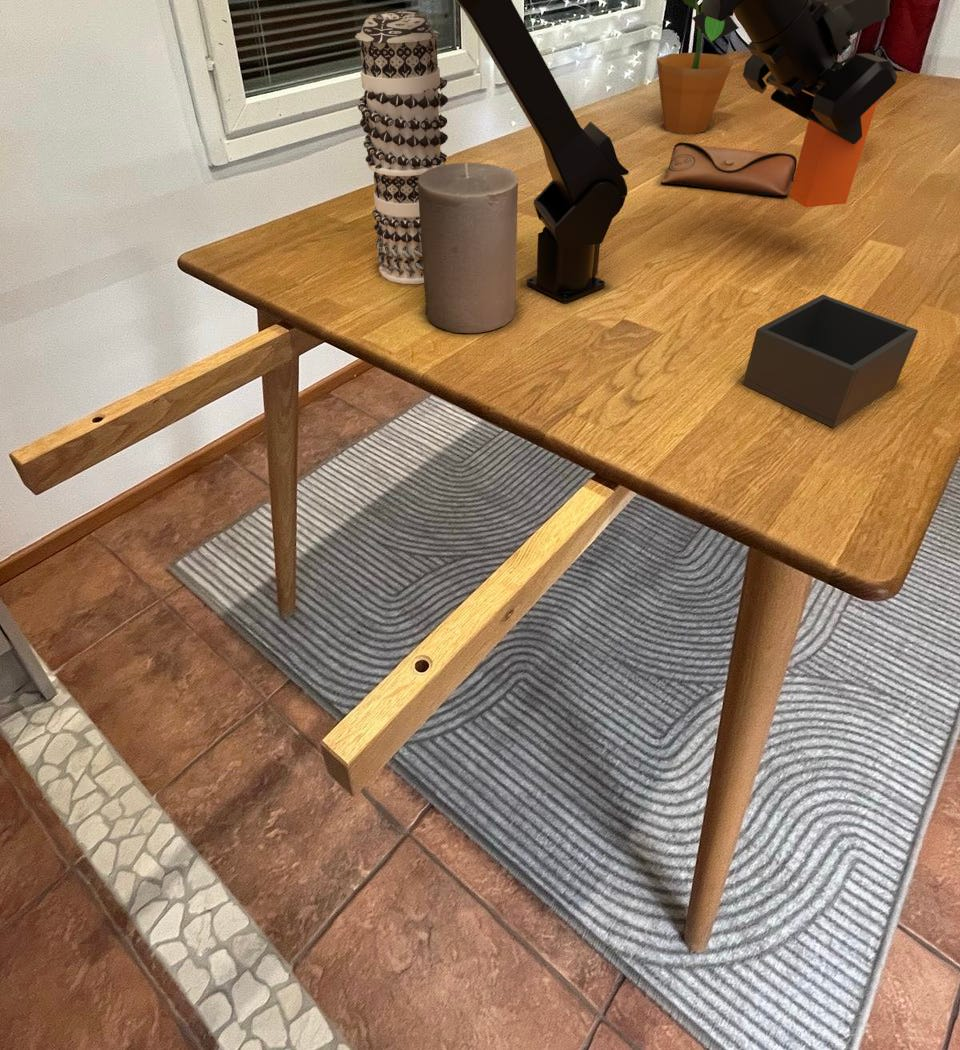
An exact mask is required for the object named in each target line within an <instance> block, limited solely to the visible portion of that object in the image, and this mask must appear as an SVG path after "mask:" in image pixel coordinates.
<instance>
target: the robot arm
mask: <svg viewBox="0 0 960 1050" xmlns="http://www.w3.org/2000/svg"><path fill="white" fill-rule="evenodd" d="M454 1H455V2H456V4H457V5H458V6H459V7H460V8H461V10H463V12H464V14H465V16H466V17H467V19H468V21H469V22H470V24H471V25H472V27H473V29H474V31H475V32H476V34H477V36H478V38H479V39H480V41H481V42H482V44H483V46H484V48H485V49H486V51H487V53H488V54H489V56H490V58H491V59H492V61H493V64H494V65H495V66H496V68H497V70H498V71H499V73H500V75H501V76H502V78H503V80H504V81H505V83H506V85H507V86H508V88H509V90H510V92H511V94H512V95H513V97H514V98H515V100H516V102H517V103H518V105H519V106H520V108H521V110H522V112H523V114H524V116H525V117H526V118H527V121H528V123H529V124H530V125H531V127H532V129H533V131H534V132H535V134H536V135H537V137H538V139H539V141H540V143H541V146H542V149H543V154H544V158H545V162H546V166H547V169H548V171H549V174H550V177H551V179H552V180H551V181H550V182H549V183H548V184H547V185H546V187H545V188H544V189H543V190H542V191H541V192H540V193H539V194H538V195H537V196H536V197H535V199H534V200H533V207H534V210H535V213H536V217H537V218H538V220H539V221H541V222H542V224H543V225H544V226H543V228H542V231H541V232H538V233H537V250H536V251H537V252H536V254H537V255H536V275H535V276H532V277H529V278H527V279H526V285H527V286H528V287H531V288H533V289H535V290H537V291H539V292H541V293H543V294H546V295H547V296H550V297H552V298H553V299H556V300H557V301H560V302H562V303H569V302H571V301H574V300H576V299H579V298H581V297H584V296H587V295H589V294H591V293H592V292H595V291H599V290H600V289H602V288H604V287H605V286H606V281H605V280H604V279H601V278H599V277H597V275H598V270H599V269H598V268H599V258H600V256H599V255H600V248H601V244H602V243H603V242H604V240H605V237H606V235H607V233H608V231H609V228H610V226H611V224H612V221H613V219H614V218H615V217H616V216H617V215H619V213H620V212H621V210H622V208H623V207H624V205H625V201H626V198H627V196H628V194H629V193H628V186H627V182H626V179H625V178H624V176H626V175H629V172H630V171H629V170H628V169H627V168H626V167H625V166H624V165H622V163H621V162H620V161H619V159H618V156H617V153H616V150H615V146H614V144H613V142H612V139H611V137H610V136H608V134H606V133H605V132H604V131H603V130H601V128H599V127H598V126H597V125H595V123H594V122H592V121H590V122H588V123H587V124H586V125H585V127H584V128H582V127H581V125H580V124H579V122H578V120H577V118H576V116H575V114H574V113H573V110H572V109H571V106H570V104H569V102H568V101H567V99H566V98H565V96H564V94H563V92H562V90H561V89H560V87H559V85H558V83H557V81H556V79H555V78H554V76H553V74H552V72H551V70H550V69H549V66H548V64H547V63H546V60H545V59H544V57H543V56H542V54H541V52H540V50H539V47H538V46H537V45H536V42H535V41H534V39H533V37H532V35H531V33H530V31H529V30H528V28H527V26H526V24H525V23H524V20H523V18H522V17H521V15H520V13H519V10H518V9H517V8H516V6H515V3H514V2H513V0H454ZM703 12H704V15H706V16H708V17H711V18H713V19H716V20H718V21H724V20H725V19H726V18H727V17H728V15H729V16H730V14H731V13H733V14H734V15H735V18H736V19H737V20H738V22H739V24H740V25H741V26H742V28H743V30H744V31H745V33H746V34H747V37H748V38H749V40H750V42H749V43H748V44H747V48H748V49H749V51H750V53H751V56H750V57H748V59H747V60H746V61H745V63H744V68H743V73H742V76H743V78H744V79H745V81H746V83H747V84H748V86H749V87H750V89H752V90H754V91H756V92H758V93H760V94H763V93H764V92H765V91H766V90H767V84H768V85H770V86H772V87H773V88H774V89H775V90H774V91H773V93H772V94H771V95H770V100H771V101H772V102H774V103H776V104H778V105H780V106H781V107H783V108H785V109H787V110H788V111H790V112H791V113H794V114H796V115H798V116H800V117H801V118H803V119H805V120H807V121H809V120H811V121H813V122H815V123H816V124H818V125H820V126H822V127H823V128H825V129H827V130H829V131H830V132H832V133H834V134H836V135H837V136H839V137H841V138H843V139H844V140H846V141H848V142H850V143H851V144H855V143H856V142H858V141H859V140H860V139H861V138H862V125H861V116H862V115H863V114H864V113H865V112H866V111H867V110H868V109H869V108H870V107H871V106H872V105H873V104H874V103H875V102H876V101H877V100H878V101H879V100H880V99H881V98H882V97H884V95H885V94H886V93H887V92H888V91H889V90H891V88H893V87H894V85H895V84H897V79H898V75H897V73H896V70H895V69H894V66H893V65H892V63H891V61H890V60H888V59H885V58H883V57H880V56H877V55H875V54H872V53H869V52H867V53H866V52H865V53H855V54H854V55H853V56H852V57H846V58H844V59H842V60H841V61H838V60H836V58H837V57H838V56H839V55H843V54H844V53H845V52H846V50H847V49H849V47H851V46H852V43H851V41H850V38H849V37H852V36H853V35H855V34H857V33H859V32H860V31H862V30H865V29H866V28H868V27H869V26H871V25H873V24H874V23H876V22H878V23H879V22H882V21H884V20H886V19H887V18H888V17H889V16H890V0H706V3H705V7H704V11H703ZM769 73H770V74H769ZM768 74H769V75H768ZM767 75H768V76H767ZM766 76H767V77H766ZM765 77H766V79H765V80H764V78H765ZM878 101H877V102H878ZM811 110H812V112H811Z"/></svg>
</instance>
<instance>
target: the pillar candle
mask: <svg viewBox="0 0 960 1050" xmlns="http://www.w3.org/2000/svg"><path fill="white" fill-rule="evenodd" d="M518 190H519V177H518V176H517V174H516V173H515V172H513V171H512V169H511V168H508V167H505V166H499V165H495V164H489V163H482V162H455V163H447V164H445V165H442V166H438V167H435V168H431V169H430V170H427V171H426V172H423V173H422V174H421V175H420V176H419V179H418V194H419V214H420V226H421V247H422V256H423V268H424V270H423V272H424V283H423V289H424V298H425V300H424V301H425V312H424V314H425V316H426V318H427V321H429V323H431V324H432V325H433V326H435V327H437V328H439V329H442V330H445V331H446V332H451V333H459V334H478V333H485V332H491V331H494V330H496V329H499V328H502V327H504V326H506V325H507V324H508V323H510V322H511V321H512V320H513V318H514V317H515V312H516V299H517V297H516V294H517V246H518V245H517V243H518V242H517V241H518V237H517V236H518V197H519V196H518V195H519V194H518V193H519V191H518Z"/></svg>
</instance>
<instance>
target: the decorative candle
mask: <svg viewBox="0 0 960 1050" xmlns="http://www.w3.org/2000/svg"><path fill="white" fill-rule="evenodd" d="M439 34H440V32H439V31H437V30H435V29H433V28H432V25H431V24H430V22H429V20H428V19H427V18H426V16H424V15H423V14H421V13H419V12H413V11H385V12H378V13H374V14H370V15H369V16H368V17H367V18H366V19H365V20H364V23H363V25H362V27H361V30H360V32H358V33H356V34H355V35H354V37H355V39H356V40H358V42H359V45H360V59H361V64H362V67H361V68H362V69H361V70H360V78H361V79H360V82H361V88H362V89H363V90H364V94H363V95H362V96H361V97H360V98H359V102H358V104H357V108H358V110H359V112H361V113H360V114H361V115H362V116H361V119H360V120H359V125H360V127H362V131H363V132H364V133H366V135H365V137H364V139H365V140H364V141H363V147H364V148H365V149H366V152H367V155H366V157H365V162H366V163H367V166H368V168H369V169H370V171H372V172H373V183H374V188H375V189H374V191H373V201H374V209H373V210H372V216H373V218H374V220H375V221H376V223H375V224H374V226H373V229H374V230H375V234H376V235H378V236H377V238H376V240H375V243H374V244H375V247H376V249H377V251H378V252H377V254H376V259H377V261H378V262H379V264H380V265H379V268H378V272H379V273H380V275H381V277H382V278H383V279H386V280H388V281H389V282H393V283H397V284H401V285H420V284H424V272H423V270H424V268H423V256H422V247H421V226H420V214H419V194H418V179H419V176H420V175H421V174H422V173H423V172H426V171H427V170H430V169H431V168H435V167H438V166H442V165H447V158H448V155H447V154H445V153H444V152H442V150H441V147H442V146H443V144H446V142H447V141H448V140H449V136H448V134H446V133H445V132H443V131H442V129H443V128H445V127H446V126H447V124H448V119H447V118H446V116H443V115H442V113H441V112H440V111H439V108H440V109H442V108H443V107H444V106H445V105H447V103H448V102H449V98H448V96H446V94H443V92H442V90H443V89H444V88H446V87H447V85H448V80H447V79H444V78H442V77H441V70H440V69H441V68H440V67H439V63H438V61H439V60H438V42H437V41H438V39H437V38H438V36H439ZM439 91H440V92H439ZM439 113H440V114H439Z"/></svg>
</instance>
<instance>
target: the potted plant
mask: <svg viewBox="0 0 960 1050" xmlns="http://www.w3.org/2000/svg"><path fill="white" fill-rule="evenodd" d="M664 1H665V2H667V0H664ZM682 2H683V3H684V5H687V6H688V7H690V8H692V9H693V10H695V14H696V15H695V16H693V17H691V19H692V20H693V22H694V23H695V24H696V26H697V34H696V44H695V52H681V53H668V54H666V55H662V56H660V57H657V58H656V67H657V75H658V85H659V95H660V103H661V105H660V106H661V112H662V113H661V115H662V123H663V128H664V129H665V131H667V132H671V133H675V134H682V135H683V134H685V135H688V134H690V135H695V134H699V133H704V132H706V130H707V127H708V125H709V123H710V120H711V118H712V116H713V114H714V110H715V108H716V106H717V104H718V101H719V98H720V96H721V93H722V91H723V89H724V86H725V84H726V81H727V78H728V76H729V74H730V72H731V68H732V66H733V64H734V62H735V59H733V58H730V57H727V56H724V55H721V54H715V53H705V52H704V53H703V52H702V51H701V49H702V47H701V46H702V33H703V34H704V36H705V37H706V39H707V40H708V41H709V43H713V42H715V41H717V40H719V39H721V38H723V37H725V36H727V35H729V34H731V33H733V32H734V31H737V30H738V29H740V27H739V26H738V24H737V23H736V22H735V21H734V19H733V18H732V17H731V16H730V14H729V15H728V17H727V18H726V19H725V20H724V21H718V20H716V19H713V18H711V17H708V16H706V15H704V12H703V11H704V7H705V3H706V0H702V1H701V6H700V5H699V2H698V0H682Z"/></svg>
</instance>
